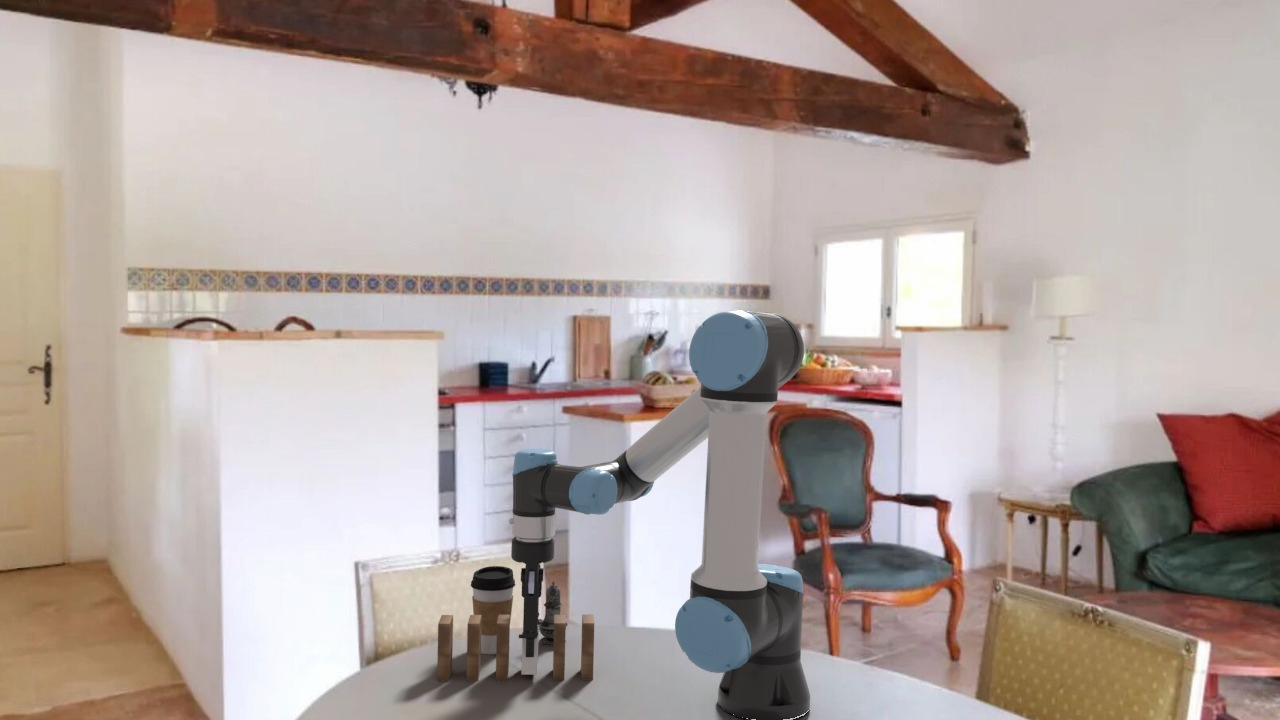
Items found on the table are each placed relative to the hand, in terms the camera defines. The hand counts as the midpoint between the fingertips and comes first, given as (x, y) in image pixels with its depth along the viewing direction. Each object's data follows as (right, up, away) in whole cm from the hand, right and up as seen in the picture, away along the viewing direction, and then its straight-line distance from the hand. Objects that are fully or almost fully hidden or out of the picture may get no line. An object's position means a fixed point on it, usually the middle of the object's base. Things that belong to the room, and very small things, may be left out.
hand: (529, 667), depth 167 cm
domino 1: (-15, -1, -1) cm, 15 cm away
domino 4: (+5, -1, 0) cm, 5 cm away
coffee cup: (-9, -1, +13) cm, 15 cm away
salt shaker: (+2, -1, +18) cm, 18 cm away
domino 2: (-10, -1, -1) cm, 10 cm away
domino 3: (-5, -1, 0) cm, 5 cm away
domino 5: (+10, -2, +1) cm, 10 cm away
